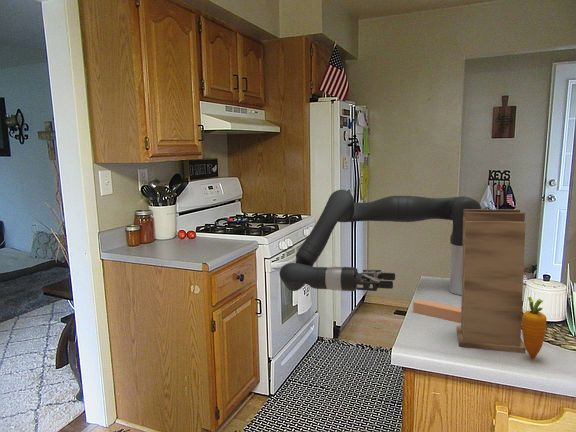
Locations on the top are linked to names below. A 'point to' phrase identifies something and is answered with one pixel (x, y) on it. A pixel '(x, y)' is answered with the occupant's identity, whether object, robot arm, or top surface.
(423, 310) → the bar
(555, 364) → the top surface
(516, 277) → the stand
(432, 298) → the top surface
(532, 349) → the carrot
